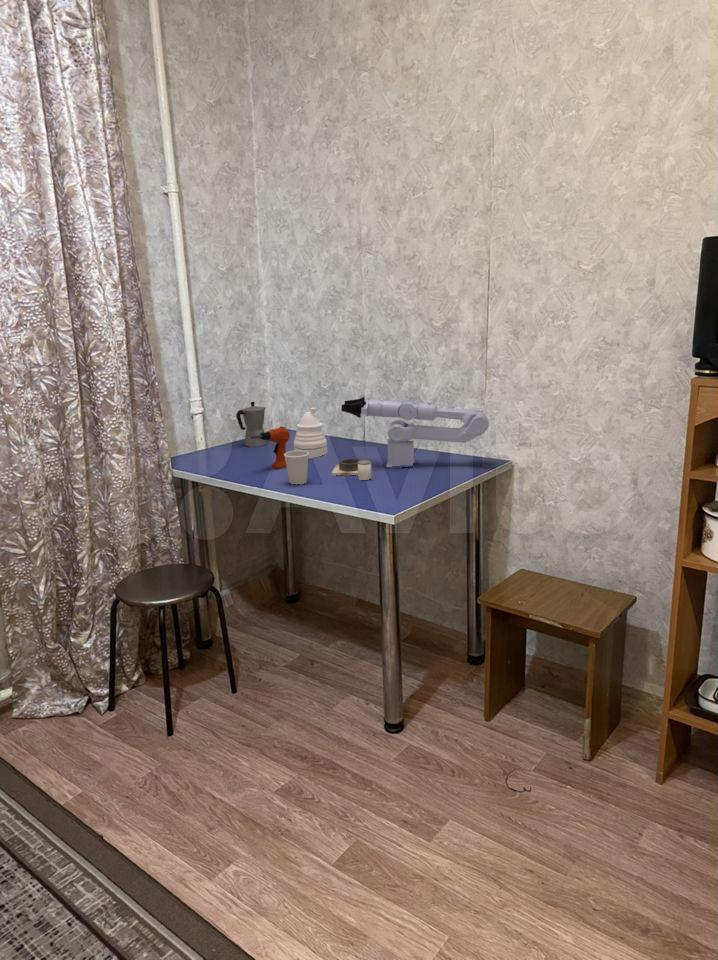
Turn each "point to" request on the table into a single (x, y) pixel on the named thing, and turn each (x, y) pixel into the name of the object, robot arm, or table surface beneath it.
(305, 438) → the honey pot
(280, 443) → the toy drill
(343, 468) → the square plate with ring
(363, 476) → the grey cylinder
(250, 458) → the table surface
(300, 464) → the dixie cup
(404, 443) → the robot arm
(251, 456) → the table surface
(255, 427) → the coffeepot
